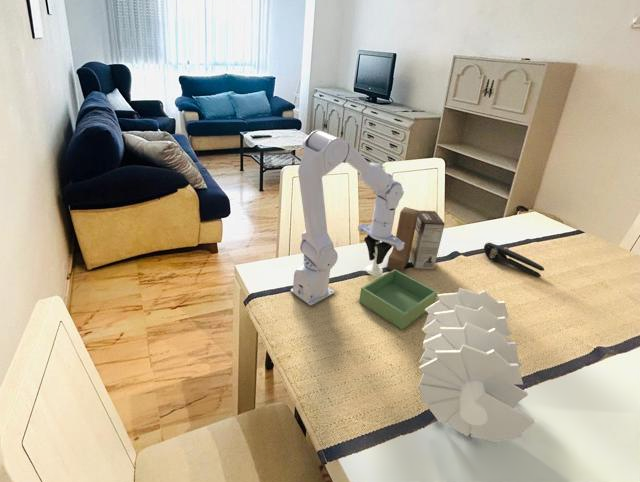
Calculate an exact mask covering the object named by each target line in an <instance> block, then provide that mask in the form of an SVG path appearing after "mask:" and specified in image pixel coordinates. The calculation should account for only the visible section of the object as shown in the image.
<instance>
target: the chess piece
mask: <svg viewBox="0 0 640 482" xmlns="http://www.w3.org/2000/svg"><path fill="white" fill-rule="evenodd" d="M380 242H381V241H378V242H376V244H378V243H380ZM373 255H374V256H375V258H374V260H372V261H373V262H372V264H369V265H366V268H365V271H366V273H367V274H368V275H371V276H376V277H378V276H379V277H380V276H383V273H384V269H383V268H382V267H381V266H380V265H378V264H376V260H377V246H375V253H374V254H373Z"/></svg>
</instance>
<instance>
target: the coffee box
mask: <svg viewBox="0 0 640 482" xmlns="http://www.w3.org/2000/svg"><path fill="white" fill-rule="evenodd" d="M417 210H418V209H417ZM418 211H419V212H418V217H417V222H416V227H415V232H414V237H413V242H412V247H411V252H410V257H409V261H410V262H411V264H412V266H413V268H414V269H423V270H425V269H426V270H434V269H435V265H436V262H437V258H438V253H439V249H440V245H441V241H442V237H443V236H442V235H443V233H444V228H445V225H446V223H445V222H444V221H443V220H442V219H443V218H441V217H440V216H439V214H438V213H437V212H436V210H418Z"/></svg>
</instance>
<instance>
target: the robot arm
mask: <svg viewBox="0 0 640 482" xmlns="http://www.w3.org/2000/svg"><path fill="white" fill-rule="evenodd" d="M302 147H303V152H302V156H301V159H300V162H299V166H298V169H297V170H298V172H297V174H298V181H299V189H300V196H301V197H300V198H301V203H302V211H303V220H304V228H305V231H304V232H302V233H301V240H300V241H301V242H300V244H299V250H300V252H301V253H302V254H303V257H302V258H303V263H302V264H301V266H300V267H299V268H297V269H296V270H295V271H294V273H293V283H292V288H291V289H290V292H291V293H292V294H294V295H295V296H296V297H298V298H299V299H300V300H302V301H303V302H304V303H306V304H307V305H309V306H313V305H315V304H317V303H318V302H320V301H322V300H324V299H326V298H328V297H330V296H331V295H333V294H335V290H334V289H332V288H331V287H329V283H330V276H331V275H330V274H331V270H332V269H333V267H335V265H336V263H337V261H338V257H339V255H338V252H337V251H336V249H335V247H334V242H333V241H332V239H331V237H330V235H329V233H328V225H327V216H326V205H325V194H324V185H323V177H324V176H326V175H328V174H329V173H330V172H332V171H333V170H335V168H337V167H338V166H339V165H341V164H342V163H344V164H348V165H349V166H351V167H352V168H353V169H354V170H355V171H357V172H358V173H359V179H360V181H362V182H363V183H364V184H365V185H366V186H368V188H370V190H372V193H373V194H374V195H375V199H374V200H375V201H374V208H373V213H372V218H371V225H369V224H366V223H364V222H362V223H359V224H358V226H357V231H358V232H362V233H365V234H367V235H366V236H365V237H364V240H363V241H364V243H365V245H366V247H367V252H368V259H369V261H374V258H375V256H374V255H373V254H374V253H375V246H377V260H376V264H378V266H380V265H381V264H383V263H384V260H385V257H386V256H387V255H388V253H389V251H390V250H391V249H392V248H393V247H396V248H397V250H399V251H400V250H402V249H404V244H405V243H404V242H402V241H401V240H399V239H398V238H397V237H396V235H394V234H392V233H393V226H394V221H395V215H396V209H397V208H398V206H399V203H400V200H401V199H402V198H403V196H404V194H405V191H404V188H403V186H402V183H400V182H399V181H396V180H395V179H393V175H392V174H390V173H389V172H386V171H385V170H384V166H383V165H382V163H378V162H377V163H376V162H368V160H367V159H366V158H365V157H364V156H363V155H362V154H361V153H360V152H359V151H358V150H357V149H356V148H355V147H354V146H353V145H352V144H351V143H349V142H347V140H345V139H344V138H342V137H337V136H335V135H333V134H330V133H328V132H326V131H325V130H323V129H315V130H313V131H311V132H310V133H309V135H308V136H307V137H306V138H305V139H304V141H303V142H302ZM378 241H380V243H378V244H376V242H378Z"/></svg>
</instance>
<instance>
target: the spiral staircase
mask: <svg viewBox="0 0 640 482" xmlns="http://www.w3.org/2000/svg"><path fill="white" fill-rule="evenodd" d="M437 298H438V300H437V301H435V303H434V304H432V305H430V306H429V307H427V308H426V309H425V311H426V312H425V313H427V314H428V315H427V317H426V319H425V323H424V325H423V327H422V328H421V331H422V332H423V333H425V336H424V340H423V342H422V343H423V344H422V350H423V353H422V355H421V357H420V359H419V361H418V363H419V364H421V365H419V370H420V371H421V378H420V380H419V382H418V385H417V387H416V389H417V390H418V391H420V403H421V404H424V405H426V407H427V408H428V410H429V411H430V412H431V413H432V415H433V416H434V417H435V419H436V420H437V421H438V422H439V423H440V424H443V423H445V425H447V426H448V427H450V428H452V429H453V430H455V431H456V432H458V433H460V434H462V435H464V437H469V436H470V437H471V438H474V439H478V440H479V439H480V440H484V441H489V442H493V443H499V442H500V441H507V440H512V439H519V438H523V435H522V434H523V433H524V432H525V431H526V430H527V429H529V428H530V427H531V426H532V425H533V424H535V423H536V422H535V419H534V418H532V417H530V416H529V415H526V414H525V413H523V412H521V411H519V410H517V409H516V408H515V405H517V404H518V403H520V402H521V401H523V400H524V399H525V398H526V397H528V396H529V393H528V392H527V391H525V390H524V389H522V388H520V387H518V386H517V385H524V383H523V379H522V378H523V377H522V375H521V370H520V367H521V366H522V365H523V362H522V360H519V355H518V347H517V346H518V341H517V342H516V341H514V340H512V339H510V338H508V337H506V336H512V335H513V333H512V331H511V328H510V326H509V323H508V320H507V319H510V317H509V313H508V309H507V306H506V302H505V300H502V301H501V300H500V301H499V300H497V299H495V298H494V297H493V296H492V295H491V294H490V293H488V292H487V291H486V290H485V289H483V290H482V291H480V292H476V291H472V290H471V289H466V288H462V287H459V288H458V290H457V292H447V293H437Z"/></svg>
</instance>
